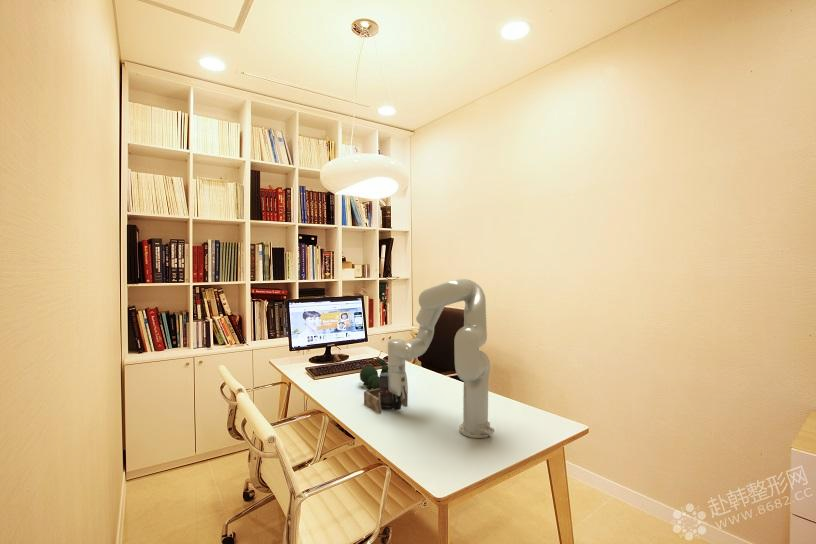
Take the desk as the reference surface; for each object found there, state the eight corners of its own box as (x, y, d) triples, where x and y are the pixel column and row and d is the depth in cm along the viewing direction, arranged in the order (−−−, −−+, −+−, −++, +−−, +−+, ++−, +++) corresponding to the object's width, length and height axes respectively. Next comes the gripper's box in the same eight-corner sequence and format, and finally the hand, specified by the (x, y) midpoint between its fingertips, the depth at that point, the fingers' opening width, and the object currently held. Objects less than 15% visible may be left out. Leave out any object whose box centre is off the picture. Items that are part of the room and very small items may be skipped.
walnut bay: (407, 406, 171) (407, 386, 171) (378, 413, 162) (378, 393, 162) (392, 397, 182) (392, 379, 182) (364, 404, 173) (364, 385, 173)
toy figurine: (393, 397, 187) (368, 380, 207) (395, 360, 185) (370, 346, 205) (377, 401, 181) (353, 383, 201) (379, 363, 179) (354, 349, 199)
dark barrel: (395, 410, 165) (395, 376, 165) (377, 410, 166) (377, 376, 166) (398, 404, 173) (398, 372, 173) (381, 403, 174) (381, 371, 174)
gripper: (413, 370, 160) (414, 412, 160) (394, 362, 172) (394, 402, 172) (399, 373, 156) (399, 416, 156) (380, 365, 168) (380, 406, 168)
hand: (397, 409), depth 164 cm, fingers closed
